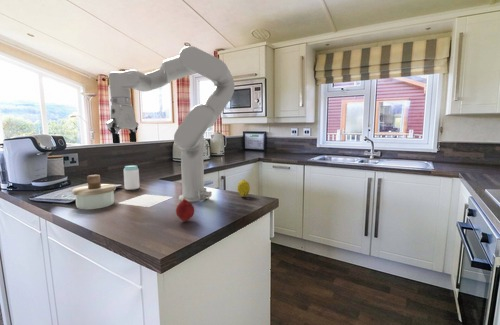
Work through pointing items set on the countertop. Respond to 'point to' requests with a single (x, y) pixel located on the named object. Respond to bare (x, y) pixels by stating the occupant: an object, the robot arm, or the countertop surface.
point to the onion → (185, 210)
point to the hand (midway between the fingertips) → (125, 142)
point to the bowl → (94, 200)
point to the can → (131, 177)
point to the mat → (145, 200)
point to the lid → (94, 187)
